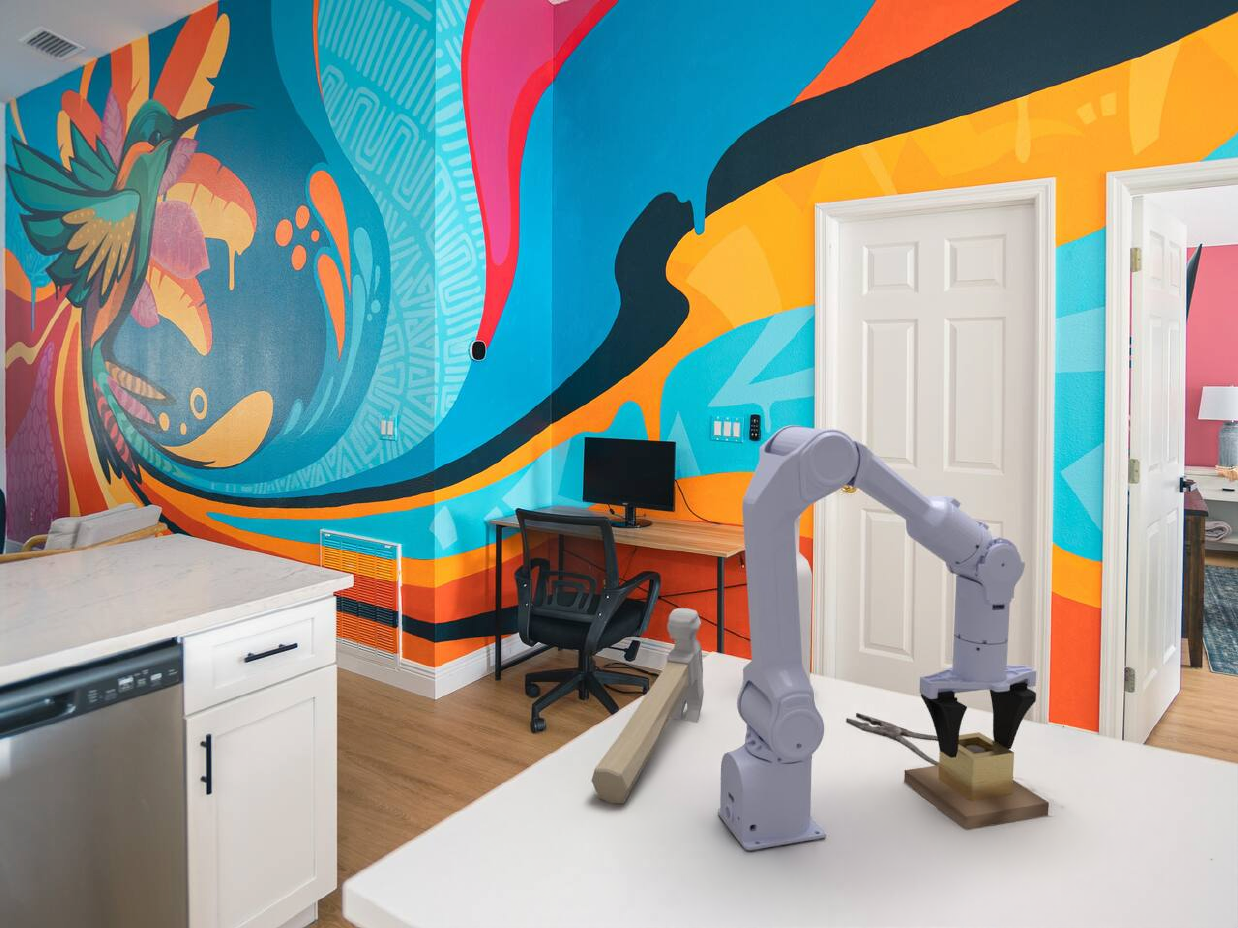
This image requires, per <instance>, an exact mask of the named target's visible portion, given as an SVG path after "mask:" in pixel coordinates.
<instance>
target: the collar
mask: <svg viewBox="0 0 1238 928" xmlns="http://www.w3.org/2000/svg"><path fill="white" fill-rule="evenodd" d="M969 745H976V746H980V747H982V748H984V749H985V752H984V753H978V754H974V753H972V752H971V751H969V750H967V749H966V747H967V746H969ZM938 757H939V758H938V759H939V760H938V762H939V779H940V780H942V781H943V782H945V783H946V784H947V785H949V786H950V787H952V788H953V789H955V790H956V791H957V792H959V793H960V794H962V795H963V796H965V797H966V798H968V799H969V800H970V801H977V800H983V799H988V798H994V797H999V796H1005V795H1010V794H1012V786H1013V780H1014V764H1015V763H1014V762H1015V761H1014V760H1015V752H1014V751H1012V750H1011V749H1007V748H1005V747H1004V746H1002V745H1000V744H998V743H997V742H995V741H994V739H991V738H990V737H988V736H986V735H984V733H981V732H972V733H966V734H965V733H964V734H959V743H958V752H957V755H956V757H953V758H950V757H949V756H947V755H946V754H944V753H943V752H941V751H940V750H939V756H938Z"/></svg>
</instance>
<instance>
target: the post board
mask: <svg viewBox="0 0 1238 928" xmlns="http://www.w3.org/2000/svg"><path fill="white" fill-rule="evenodd" d="M966 749H967V750H969V751H971V752H972V753H974V754H978V753H984V752H985V749H984V748H982V747H980V746H976V745H969V746H967V747H966ZM903 782H904V783H905V784H906V785H908V786H909V787H910V788H912V789H913V790H914V791H915V792H917V793H918V794H919V795H920V796H922V797H923V798H924V799H926V800H927V801H928V802H929V803H931V804H932V805H933V806H934V807H936V808H937V809H939V810H940V811H941V812H942V813H944V814H945V815H946V816H947V817H949V818H950V819H952V820H953V821H954V822H956V823H957V824H958V825H959V826H961V827H962V828H963V829H964V830H966V831H968V830H973V829H977V828H984V827H989V826H990V827H991V826H994V825H1000V824H1005V823H1011V822H1017V821H1023V819H1024V820H1027V819H1028V820H1029V819H1034V818H1040V817H1046V816H1049V808H1050V807H1049V806H1050V805H1049V804H1050V802H1049V801H1047V800H1046V799H1044V798H1043V797H1041V796H1040V795H1038V794H1037V793H1035V792H1033V791H1032V790H1030V789H1029V788H1027V787H1025V786H1024V785H1022V784H1020V783H1019V782H1017V781H1016V780H1015V779H1013V786H1012V794H1010V795H1005V796H999V797H994V798H988V799H983V800H977V801H970V800H969V799H968V798H966V797H965V796H963V795H962V794H960V793H959V792H957V791H956V790H955V789H953V788H952V787H950V786H949V785H947V784H946V783H945V782H943V781H942V780H940V779H939V765H930V766H924V767H918V768H912V769H911V768H910V769H905V770H904V781H903Z"/></svg>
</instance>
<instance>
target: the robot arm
mask: <svg viewBox="0 0 1238 928" xmlns="http://www.w3.org/2000/svg"><path fill="white" fill-rule="evenodd" d="M845 486H847V487H852V488H857V489H859V490H860V491H862V492H863V493H865V495H868V497H871V498H872V499H873V500H875V501H876V502H878V503H880V504H881V505H882V506H884V507H886V508H887V509H888V510H890V511H892V512H893V513H895V514H897V516H899V517H900V518H902V519H904V520H905V528H906V529H905V530H906V532H907V534H908V536H909V537H910V538H911V539H912V540H914V541H915V542H917V543H918V544H919V545H921V546H922V547H923V548H925V549H927V551H930V552H931V553H932V554H934V555H935V556H936V557H938V558H939V559H940V560H942V562H944V563H945V566H946V568H947V569H948V571H949V572H950V574H954V575H955V576H956V577H955V600H954V621H953V623H954V625H953V641H952V642H953V643H952V667H949V668H947V669H943V670H941V671H938V672H936V673H933V674H929V675H924V676H923V675H922V676H920V677H919V694H920V697H921V698H922V701H923V702H924V705H925V706H926V708H927V710H928V713H929V716H930V717H931V720H932V723H933V727H934V730H935V733H936V736H937V738H938V741H937V742H938V747H939V752H940V751H941V752H943V753H944V754H946V755H947V756H949V757H950V758H953V757H956V755H957V752H958V743H959V735H960V731H961V725H962V722H963V719H964V715H965V714H966V711H967V709H968V706H967V705H965V704H963V703H962V702H960V701H958V697H957V696H955V695H956V694H961V693H970V692H977V691H985V690H986V691H987V690H988V691H989V694H990V699H991V705H992V707H991V708H992V735H993V736H992V737H993V741H995V742H997V743H998V744H1000V745H1002V746H1004V747H1005V748H1007V749H1009V750H1011V749H1012V746H1013V744H1014V743H1015V742H1014V741H1015V738H1016V735H1017V732H1018V730H1019V728H1020V725H1021V724H1022V722H1023V720H1024V717H1025V716H1026V715H1027V712H1028V711H1029V709H1031V707H1032V706H1033V705H1035V703H1036V702H1037V701H1036V700H1037V692H1035V691H1034V690H1031V689H1030V687H1032V688H1033V687H1036V684H1037V669H1034V668H1032V667H1029V666H1028V665H1025V664H1021V665H1018V664H1017V665H1008V647H1009V630H1010V627H1009V626H1010V605H1011V602H1012V600H1013V599H1014V598H1015V587H1016V585H1017V584H1018V582H1019V581H1020V579H1022V578H1021V577H1022V576H1023V573H1024V571H1025V567H1026V565H1025V564H1026V563H1025V561H1022V558H1021V555H1020V551H1018V548H1017V546H1016V545H1015V544H1014V543H1013V542H1012V541H1011V540H1009V539H1006V538H1004V537H999V536H995V535H992V533H991V532H990V531H989V528H990V526H989V525H988V524H987V523H986V522H984V521H982V520H981V521H980V520H975V519H973V518H972V517H971V516H970V515H968V514H967V513H966V512H965V511H963V510H962V509H961V508H960V506H961V502H960V500H958V499H956V498H955V497H952V496H948V495H945V496H943V495H938V494H936V495H928V496H924V494H922V493H921V492H920V491H919V490H917V489H916V488H915V487H914V486H912V484H911V483H909V482H908V481H907V480H906V479H905V478H903V477H902V476H901V475H900V474H898V473H897V472H896V471H895V470H894V469H892V468H891V467H890V466H889V465H888V464H886V463H885V462H884V461H883V460H881V458H880V457H878V456H877V455H876V454H874V453H873V452H872V451H871V450H870V449H869V447H868V446H866V445H865V444H863V443H862V442H859V441H857V440H853V439H852V437H850V436H849V435H848V434H846V433H845V432H843V431H842V430H839V429H834V428H825V429H820V428H812V427H811V428H810V427H805V426H802V425H796V424H792V425H791V424H790V425H787V426H783V427H781V428H779V429H778V430H777V431H776V432H774V433H773V434H772V435H771V436H770V437H769V438H768V439H767V440H766V441H765V442H764V443H763V444H762V445H761V446H760V447H759V460H758V463H757V466H756V468H755V470H754V473H753V474H752V478H751V480H750V482H749V485H748V486H747V490H746V492H745V494H744V496H743V498H742V505H741V506H742V507H741V508H742V509H741V511H742V523H743V525H742V526H743V540H744V541H743V542H744V555H745V556H744V557H745V571H746V586H747V587H746V588H747V603H748V604H747V605H748V616H749V617H748V619H749V620H748V621H749V634H750V651H751V653H750V654H751V660H750V662H749V663H747V664H746V665H745V666H744V667H743V669H742V675H743V678H742V679H743V680H742V684H741V688H740V690H739V693H738V695H737V702H736V707H737V711H738V714H739V717H740V718H741V720H743V722H744V723H745V724H746V733H745V739H744V743H743V744H742V745H741V746H739V747H738V748H736V749H734V750H731V751H728V752H726V753H724V754H723V755H722V759H721V764H720V804H719V805H720V807H719V808H718V809H717V814H718V816H719V817H720V818H721V819H722V822H724V823H725V825H726V826H727V828H728V829H729V830H730V831H731V833H732V834H733V835H734V836H735V838H736V840H737V841H738V842H739V843H740V844H741V846H742V847H743V849H745V851H754V850H760V849H765V848H771V847H777V846H783V845H790V844H794V843H795V844H796V843H801V842H805V841H806V842H807V841H812V840H819V839H824V838H826V836H827V832H826V830H825V829H824V828H822V826H821V825H820V824H819V823H818V822H817V821H816V820H814V818H813V817H812V816H811V802H812V801H811V800H812V767H813V766H812V763H813V762H812V761H813V754H815V752H816V751H817V750H818V749H819V748H820V746H821V743H822V741H823V739H824V735H825V723H824V720H823V717H822V715H821V714H820V711H819V710H818V708H817V706H816V703H815V692H814V688H813V686H812V684H811V680H810V681H809V679H808V677H807V675H806V673H805V670H804V668H803V665H802V652H801V634H800V616H799V598H798V580H797V562H796V544H795V525H794V523H795V520H796V519H797V518H798V517H799V516H800V515H801V516H802V515H803V513H804V512H805V511H806V510H807V509H808V508H809V507H810V506H811V505H812V504H815V503H816V502H818V501H820V500H822V499H823V498H825V497H828V496H829V495H831V494H833V493H835V492H836V491H839V490H841V489H842V488H843V487H845ZM1028 687H1029V688H1028Z"/></svg>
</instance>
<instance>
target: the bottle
mask: <svg viewBox="0 0 1238 928" xmlns="http://www.w3.org/2000/svg"><path fill="white" fill-rule="evenodd" d="M801 519H802V514H801V515H800V516H799V517H798V518H797V519H796V520H795V523H794V525H795V544H796V562H797V580H798V598H799V616H800V634H801V652H802V665H803V668H804V670H805V673H806V675H807V677H808V679H809V681H810V682H811V650H812V649H811V647H812V645H811V642H812V610H813V609H812V605H813V603H812V601H813V573H812V570H811V566H810V564H809V560H807V558H805V556H804V555H802V553H801V552H800V527H801V526H800V523H801V522H800V521H801Z"/></svg>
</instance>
